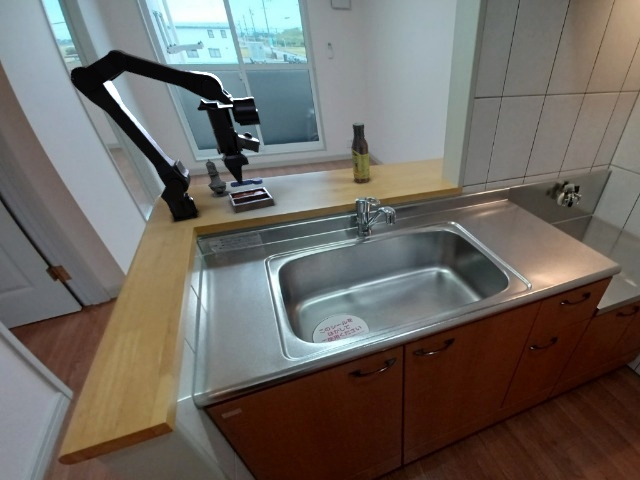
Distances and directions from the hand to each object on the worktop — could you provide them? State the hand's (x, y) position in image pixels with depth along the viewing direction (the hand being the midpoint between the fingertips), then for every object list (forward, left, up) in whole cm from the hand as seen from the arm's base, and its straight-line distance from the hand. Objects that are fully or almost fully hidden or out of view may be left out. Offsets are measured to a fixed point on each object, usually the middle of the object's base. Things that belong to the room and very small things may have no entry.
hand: (240, 182), depth 102 cm
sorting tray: (+2, +3, -8) cm, 9 cm away
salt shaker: (-6, +17, -8) cm, 20 cm away
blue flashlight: (+2, 0, -1) cm, 2 cm away
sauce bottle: (+43, +3, -8) cm, 44 cm away
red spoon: (+2, +6, -7) cm, 9 cm away
